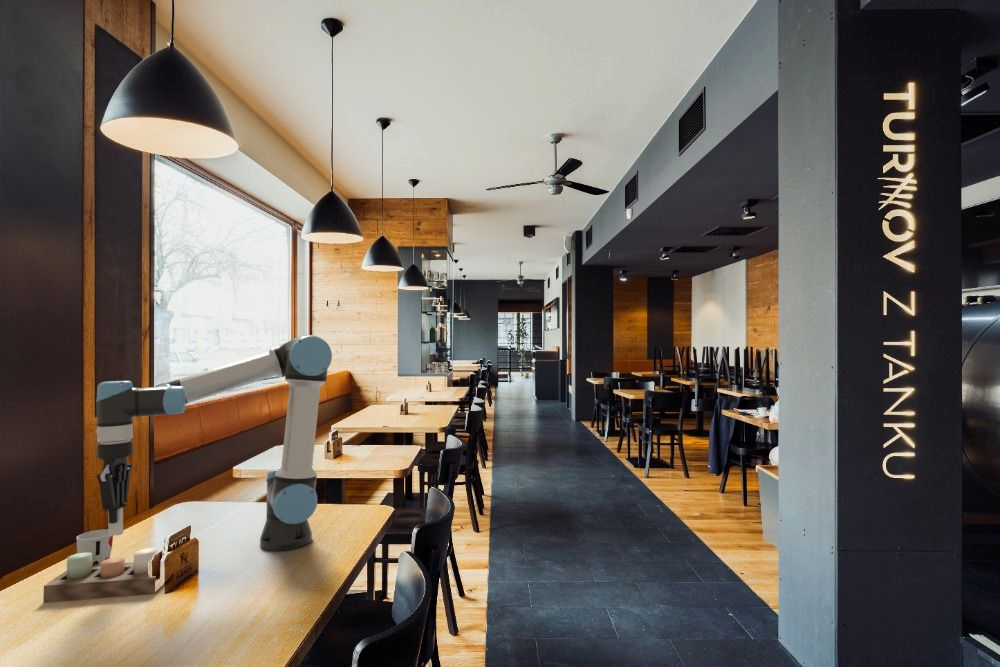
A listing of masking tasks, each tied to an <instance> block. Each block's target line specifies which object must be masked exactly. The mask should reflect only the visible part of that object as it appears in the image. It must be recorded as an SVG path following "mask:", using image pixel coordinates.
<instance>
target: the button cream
mask: <svg viewBox="0 0 1000 667" xmlns="http://www.w3.org/2000/svg"><path fill="white" fill-rule="evenodd" d="M156 552H157V553H158V549H157V548H153V547H151V548H143V549H139V550H137V551H135V552H134V553H133V562H134V573H133V574H134V575H136V574H148V562H149V561H150V560H151V559H152V557H153V555H154V554H155V553H156Z"/></svg>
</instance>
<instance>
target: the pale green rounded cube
mask: <svg viewBox="0 0 1000 667" xmlns="http://www.w3.org/2000/svg"><path fill="white" fill-rule="evenodd" d="M66 571H67V580H68V579H81V578H86V577H88V576H90V575H91V574H92V553H88V552H86V553H78V554H77V553H76V554H75V553H74V554H71V555H69V556H67V557H66Z"/></svg>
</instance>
